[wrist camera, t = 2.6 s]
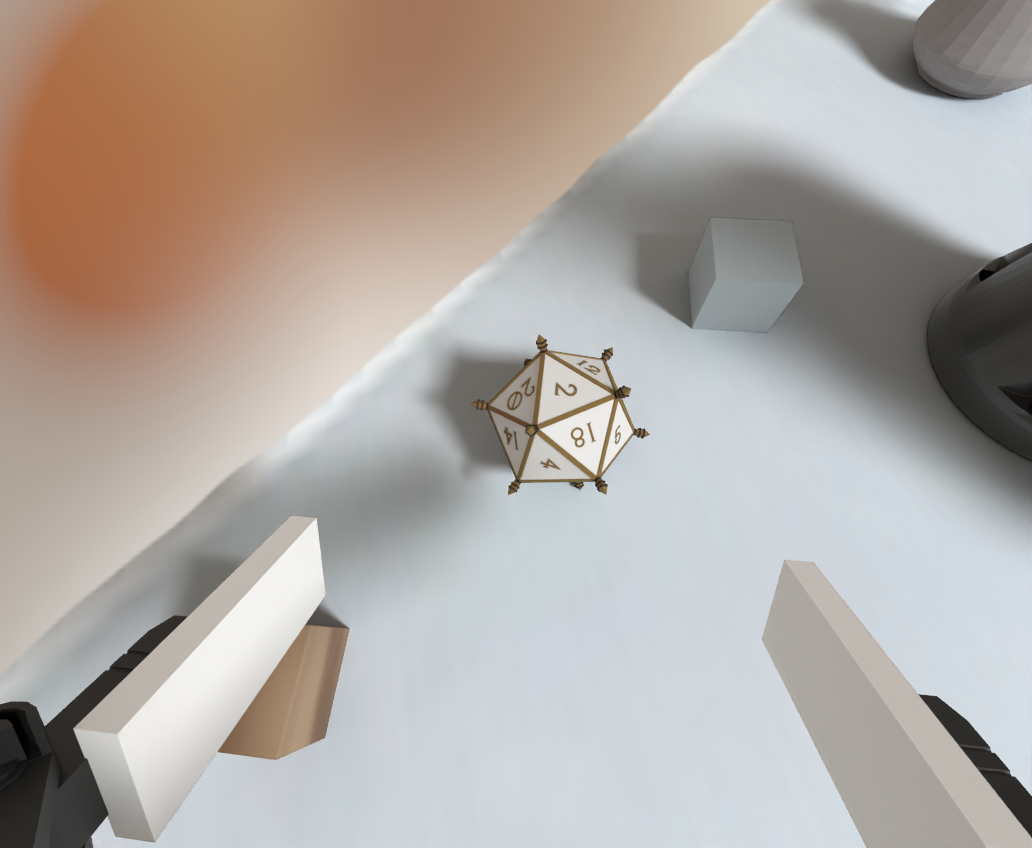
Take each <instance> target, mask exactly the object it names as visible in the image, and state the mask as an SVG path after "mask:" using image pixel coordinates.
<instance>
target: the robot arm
mask: <svg viewBox="0 0 1032 848" xmlns="http://www.w3.org/2000/svg"><path fill="white" fill-rule="evenodd" d="M928 348H929V353H930V357H931V361H932V364H933V367H934V369H935V371H936V374H937V376H938V378H939V379H940V381H941V383H942V385H943V386H944V388H945V390H946V391H947V393H948V394H949V395H950V397H951V398H952V399H953V401H954V402H955V403H956V404H957V406H958V407H959V408H960V409H961V410H962V411H963V412H964V413H965V414H966V415H967V416H968V417H969V418H970V419H971V420H972V421H973V422H974V423H975V424H976V425H977V426H978V427H980V428H981V429H982V430H983V431H985V432H986V433H987V434H988V435H990V436H991V437H992V438H994V439H995V440H997V441H998V442H999V443H1001V444H1003V445H1004V446H1006V447H1007V448H1009V449H1011V450H1012V451H1014V452H1016V453H1017V454H1019V455H1021V456H1023V457H1025V458H1027V459H1029V460H1031V461H1032V243H1031V244H1029V245H1026V246H1024V247H1022V248H1020V249H1018V250H1015V251H1013V252H1011V253H1009V254H1007V255H1005V256H1003V257H1000V258H998V259H995V260H993V261H991V262H989V263H987V264H985V265H984V266H982V267H980V268H979V269H977V270H976V271H974V272H973V273H972V274H970V275H969V276H968V277H967V278H965V279H964V280H963V281H962V282H961V283H959V284H958V285H957V286H956V287H955V288H954V289H952V290H951V291H950V292H949V293H948V294H947V295H946V296H944V297H943V298H942V300H941V301H940V302H939V303H938V305H937V306H936V308H935V310H934V311H933V314H932V316H931V319H930V322H929V327H928ZM325 595H326V593H325V585H324V576H323V568H322V560H321V551H320V543H319V535H318V526H317V518H313V517H301V516H290V517H289V518H288V519H287V520H286V521H285V522H284V523H283V524H282V525H281V526H280V527H279V528H278V529H277V530H276V531H275V532H274V533H273V534H272V535H271V536H270V537H269V538H268V539H267V540H266V541H265V542H264V543H263V544H262V545H261V546H260V547H259V548H258V549H257V550H256V551H254V552H253V553H252V554H251V555H250V556H249V557H248V558H247V559H246V560H245V561H244V562H243V563H242V564H241V565H240V566H239V567H238V568H237V569H236V570H235V571H234V572H233V573H232V574H231V575H230V576H229V577H228V578H227V579H226V580H225V581H224V582H223V583H222V584H221V585H220V586H219V587H218V588H217V589H216V590H215V591H214V592H213V593H212V594H211V595H209V596H208V597H207V598H206V599H205V600H204V601H203V602H202V603H201V604H200V605H199V606H198V607H197V608H196V609H195V610H194V611H193V612H192V613H191V614H190V615H189V616H188V617H185V616H176V615H175V616H173V617H171V618H170V619H168V620H166V621H165V622H163V623H161V624H160V625H158V626H156V627H154V628H153V629H151V630H149V631H148V632H147V633H146V634H145V635H144V636H143V637H142V638H140V639H139V640H138V641H137V642H136V643H135V644H134V645H133V646H132V647H131V648H130V649H128V652H127V654H123V655H122V656H121V657H120V658H119V659H118V660H117V661H115V662H114V663H113V664H112V665H111V666H110V669H109V670H108V671H107V670H106V671H105V672H103V673H102V674H101V675H100V676H99V677H98V678H97V679H96V680H95V681H94V682H93V683H92V684H90V685H89V686H88V687H87V688H86V689H85V690H84V691H83V692H82V693H81V694H80V695H78V696H77V697H76V698H75V699H74V700H73V701H72V702H71V703H70V704H69V705H68V706H67V707H65V708H64V709H63V710H62V711H61V712H60V713H59V714H58V715H57V716H56V717H55V718H53V719H52V720H51V721H50V722H49V723H48V724H47V725H46V726H45V727H44V724H43V722H42V720H41V717H40V715H39V712H38V710H37V708H36V707H35V706H33V705H32V704H30V703H28V702H8V703H4V704H0V848H93V844H92V838H91V836H92V834H93V833H94V832H95V831H96V829H97V828H98V827H99V826H100V824H101V823H102V822H103V821H104V819H105V818H106V817H107V816H108V818H109V821H110V824H111V826H112V829H113V831H114V834H115V836H116V837H122V838H128V839H135V840H142V841H149V842H156V840H157V839H158V837H159V836H160V834H161V833H162V831H163V830H164V829H165V827H166V826H167V824H168V823H169V821H170V820H171V818H172V817H173V816H174V814H175V813H176V811H177V810H178V808H179V807H180V805H181V804H182V802H183V801H184V800H185V798H186V797H187V795H188V794H189V792H190V791H191V789H192V788H193V787H194V785H195V784H196V782H197V781H198V779H199V778H200V776H201V775H202V773H203V772H204V771H205V769H206V768H207V766H208V765H209V763H210V762H211V760H212V759H213V758H214V756H215V755H216V753H217V752H218V750H219V749H220V747H221V746H222V744H223V743H224V742H225V740H226V739H227V737H228V736H229V734H230V733H231V731H232V730H233V729H234V727H235V726H236V724H237V723H238V721H239V720H240V718H241V717H242V715H243V714H244V713H245V711H246V710H247V708H248V707H249V705H250V704H251V702H252V701H253V700H254V698H255V697H256V695H257V694H258V692H259V691H260V689H261V688H262V686H263V685H264V684H265V682H266V681H267V679H268V678H269V676H270V675H271V673H272V672H273V671H274V669H275V668H276V666H277V665H278V663H279V662H280V660H281V659H282V657H283V656H284V655H285V653H286V652H287V650H288V649H289V647H290V646H291V644H292V643H293V642H294V640H295V639H296V637H297V636H298V634H299V633H300V631H301V630H302V628H303V627H304V626H305V624H306V623H307V621H308V620H309V618H310V617H311V615H312V614H313V613H314V611H315V610H316V608H317V607H318V605H319V604H320V602H321V601H322V599H323V598H324V597H325ZM762 641H763V643H764V645H765V647H766V649H767V651H768V653H769V655H770V657H771V659H772V661H773V662H774V664H775V666H776V668H777V670H778V672H779V674H780V676H781V678H782V680H783V682H784V684H785V686H786V688H787V690H788V692H789V694H790V696H791V698H792V700H793V702H794V704H795V706H796V708H797V710H798V712H799V714H800V716H801V718H802V720H803V722H804V724H805V726H806V728H807V730H808V732H809V734H810V736H811V738H812V740H813V742H814V744H815V746H816V748H817V750H818V752H819V754H820V756H821V758H822V760H823V762H824V764H825V766H826V768H827V770H828V772H829V774H830V776H831V778H832V780H833V782H834V784H835V786H836V788H837V790H838V792H839V794H840V796H841V798H842V800H843V802H844V804H845V806H846V808H847V810H848V812H849V814H850V816H851V818H852V820H853V822H854V824H855V825H856V827H857V829H858V831H859V833H860V835H861V837H862V839H863V841H864V843H865V845H866V847H867V848H1032V796H1031V795H1030V794H1029V793H1028V791H1027V790H1026V789H1025V788H1024V787H1023V785H1022V784H1021V783H1020V782H1019V781H1018V780H1017V778H1016V777H1013V776H1011V774H1010V770H1009V769H1008V768H1007V767H1006V765H1005V764H1004V763H1003V762H1002V761H1001V760H1000V758H999V757H998V756H997V755H996V754H995V753H992V752H991V750H990V747H989V746H988V744H987V743H986V742H985V741H984V740H983V738H982V737H981V736H980V735H979V734H978V733H977V731H976V730H975V729H974V728H973V727H972V726H971V724H970V723H969V722H968V721H967V720H966V719H965V718H963V717H962V716H961V715H960V714H958V713H957V712H956V711H955V710H953V709H952V708H951V707H950V706H948V705H947V704H946V703H945V702H943V701H942V700H941V699H940V698H938V697H937V696H929V695H920V694H918V693H917V692H916V691H915V690H914V688H913V687H912V686H911V685H910V683H909V682H908V681H907V680H906V678H905V677H904V676H903V675H902V673H901V672H900V671H899V669H898V668H897V667H896V666H895V664H894V663H893V662H892V661H891V659H890V658H889V657H888V656H887V654H886V653H885V652H884V651H883V649H882V648H881V647H880V645H879V644H878V643H877V642H876V640H875V639H874V638H873V637H872V635H871V634H870V633H869V632H868V630H867V629H866V628H865V627H864V625H863V624H862V623H861V621H860V620H859V619H858V618H857V616H856V615H855V614H854V613H853V611H852V610H851V609H850V608H849V606H848V605H847V604H846V603H845V601H844V600H843V599H842V597H841V596H840V595H839V594H838V592H837V591H836V590H835V589H834V587H833V586H832V585H831V584H830V582H829V581H828V580H827V578H826V577H825V576H824V575H823V573H822V572H821V571H820V570H819V568H818V567H817V566H816V565H815V563H814V562H802V561H791V560H784V563H783V566H782V570H781V574H780V577H779V581H778V584H777V588H776V591H775V595H774V598H773V602H772V605H771V609H770V613H769V616H768V620H767V623H766V627H765V630H764V634H763V637H762Z"/></svg>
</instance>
